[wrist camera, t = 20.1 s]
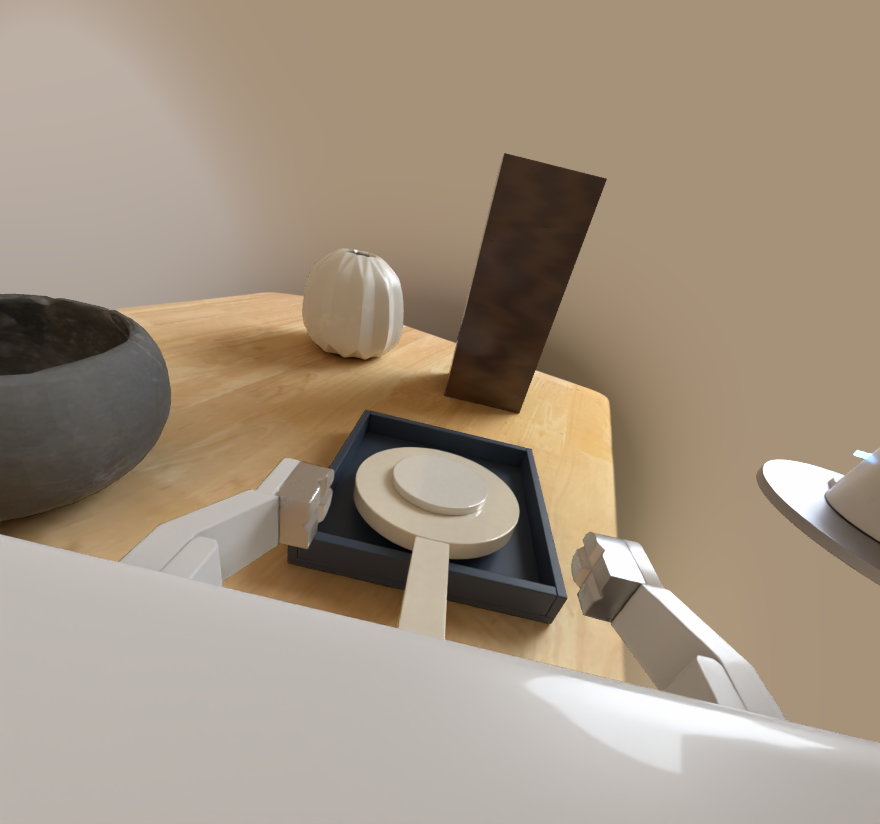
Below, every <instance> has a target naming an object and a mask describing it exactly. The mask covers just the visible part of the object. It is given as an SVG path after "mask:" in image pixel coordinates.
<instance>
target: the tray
mask: <svg viewBox="0 0 880 824" xmlns="http://www.w3.org/2000/svg"><path fill="white" fill-rule="evenodd" d="M401 447H419V448H429V449H435V450H440V451H444V452H448V453H452V454H455V455H458V456H461V457H463V458H466V459H469V460H471V461H473V462H475V463H477V464H479V465H481V466H483V467H484V468H486V469H488V470H489V471H491V472H492V473H494V474H495V475H496V476H498V477H499V478H500V479H501V480H502V481H503V482H504V483H505V484H506V485H507V486H508V487H509V488H510V489H511V491H512V492H513V494H514V495H515V497H516V499H517V502H518V505H519V511H520V512H519V519H518V522H517V525H516V528H515V531H514V533H513V536H512V537H511V539H510V540H509V542H508V543H507V544H506V545H505V546H504V547H502V548H501V549H499V550H498V551H496V552H493V553H491V554H489V555H486V556H482V557H478V558H471V559H449V566H448V586H447V600H450V601H454V602H458V603H462V604H467V605H471V606H475V607H480V608H484V609H488V610H493V611H497V612H501V613H505V614H510V615H514V616H518V617H523V618H527V619H531V620H536V621H540V622H544V623H549V624H551V623H552V622H553V620H554V618H555V617H556V615H557V614H558V612H559V611H560V609H561V608H562V606H563V604H564V603H565V601H566V600H567V595H566V591H565V586H564V582H563V578H562V574H561V570H560V565H559V561H558V557H557V553H556V549H555V544H554V540H553V536H552V532H551V528H550V524H549V519H548V515H547V511H546V507H545V503H544V498H543V494H542V490H541V486H540V482H539V477H538V473H537V469H536V465H535V461H534V456H533V452H532V449H529V448H525V447H520V446H516V445H512V444H508V443H504V442H499V441H495V440H491V439H487V438H483V437H479V436H474V435H470V434H466V433H462V432H458V431H453V430H449V429H445V428H441V427H437V426H433V425H428V424H424V423H420V422H416V421H412V420H407V419H403V418H399V417H395V416H391V415H387V414H382V413H378V412H374V411H370V410H365V411H364V413H363V414H362V416H361V418H360V419H359V421H358V422H357V424H356V426H355V427H354V429H353V430H352V432H351V434H350V435H349V437H348V438H347V440H346V441H345V443H344V445H343V446H342V448H341V449H340V451H339V453H338V454H337V456H336V457H335V459H334V461H333V462H332V464H331V465H330V467H329V468H330V469H333V470H334V480H333V482H332V484H331V485H330V488H331V489H332V491H333V492H332V499H331V503H330V506H329V509H328V512H327V514H326V516H325V518H324V520H323V521H321V522H319V523H318V528H317V533H316V535H315V536H314V538H313V540H312V542H311V544H310V546H309V547H308V549H305V548H300V547H295V546H290V545H288V563H290V564H295V565H299V566H303V567H308V568H312V569H316V570H320V571H325V572H329V573H333V574H338V575H342V576H346V577H351V578H355V579H359V580H363V581H368V582H372V583H376V584H381V585H385V586H389V587H394V588H398V589H402V590H404V587H405V582H406V577H407V572H408V567H409V562H410V557H411V552H412V551H411V550H409V549H406V548H403V547H401V546H399V545H397V544H395V543H393V542H391V541H390V540H388V539H386V538H385V537H383V536H382V535H380V534H379V533H378V532H376V531H375V530H374V529H373V528H372V527H371V526H370V525H369V524H368V523H367V522H366V521H365V520H364V519H363V517H362V516H361V515H360V513H359V511H358V509H357V507H356V505H355V501H354V498H353V489H354V483H355V477H356V472H357V470H358V468H359V466H360V465H361V464H362V463H363V462H364V461H365V460H366V459H367V458H368V457H370V456H372V455H374V454H376V453H378V452H381V451H384V450H388V449H393V448H401Z"/></svg>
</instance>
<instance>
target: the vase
mask: <svg viewBox="0 0 880 824" xmlns="http://www.w3.org/2000/svg"><path fill="white" fill-rule="evenodd" d="M302 316H303V322H304V325H305V327H306V329H307V334H308V335H309V336H310V338H311V339H312V340H313V341H314V343H316V344H317V345H319V346H320V347H321V348H322V349H323V350H324V351H325V352H328V353H334V354H340V355H341V356H342V357H344V358H349V357H356V358H360V359H367V358H369V357H381V356H383V355H384V354H385V353H387V352H388V351H389V350H391V349H392V348H393V347H395V346H396V345H397V344H398V343H399V340H400V338H401V334H402V328H403V296H402V290H401V285H400V282H399V279H398V277H397V275H396V274H395V273H394V271H393V270H392V269H391V267H390V266H389V265H388V264H387V263H386V262H385V261H384V260H383V259H381V258H380V257H379V256H377V255H374V254H371V253H368V252H363V251H359V250H353V249H343V248H342V249H338V250H336V251H333V252H332V253H330V254H328V255H326V256H324V257H323V258H321V259H320V260H318V261H317V262H316V263H315V264H314V265H313V267H312V269H311V271H310V273H309V276H308V280H307V284H306V288H305V293H304V299H303V309H302Z"/></svg>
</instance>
